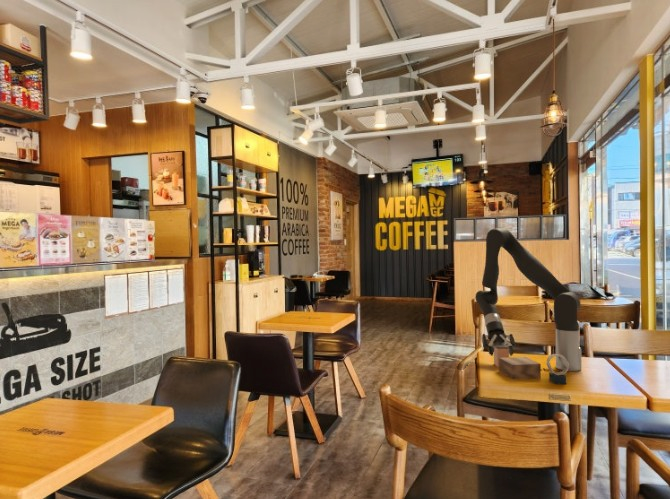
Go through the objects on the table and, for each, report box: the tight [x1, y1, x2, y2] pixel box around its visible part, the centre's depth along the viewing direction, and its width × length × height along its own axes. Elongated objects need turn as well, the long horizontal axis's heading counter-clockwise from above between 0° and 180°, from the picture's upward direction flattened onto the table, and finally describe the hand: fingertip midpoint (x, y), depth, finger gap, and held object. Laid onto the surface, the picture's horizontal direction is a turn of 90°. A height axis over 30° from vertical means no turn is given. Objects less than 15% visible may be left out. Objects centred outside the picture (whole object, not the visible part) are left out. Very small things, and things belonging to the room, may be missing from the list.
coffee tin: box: [493, 344, 510, 368], centre depth 205 cm, size 5×5×9 cm
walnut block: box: [498, 356, 542, 380], centre depth 191 cm, size 12×12×6 cm
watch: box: [546, 353, 569, 385], centre depth 180 cm, size 6×8×11 cm
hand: (501, 354), depth 204 cm, fingers open, 8 cm apart
